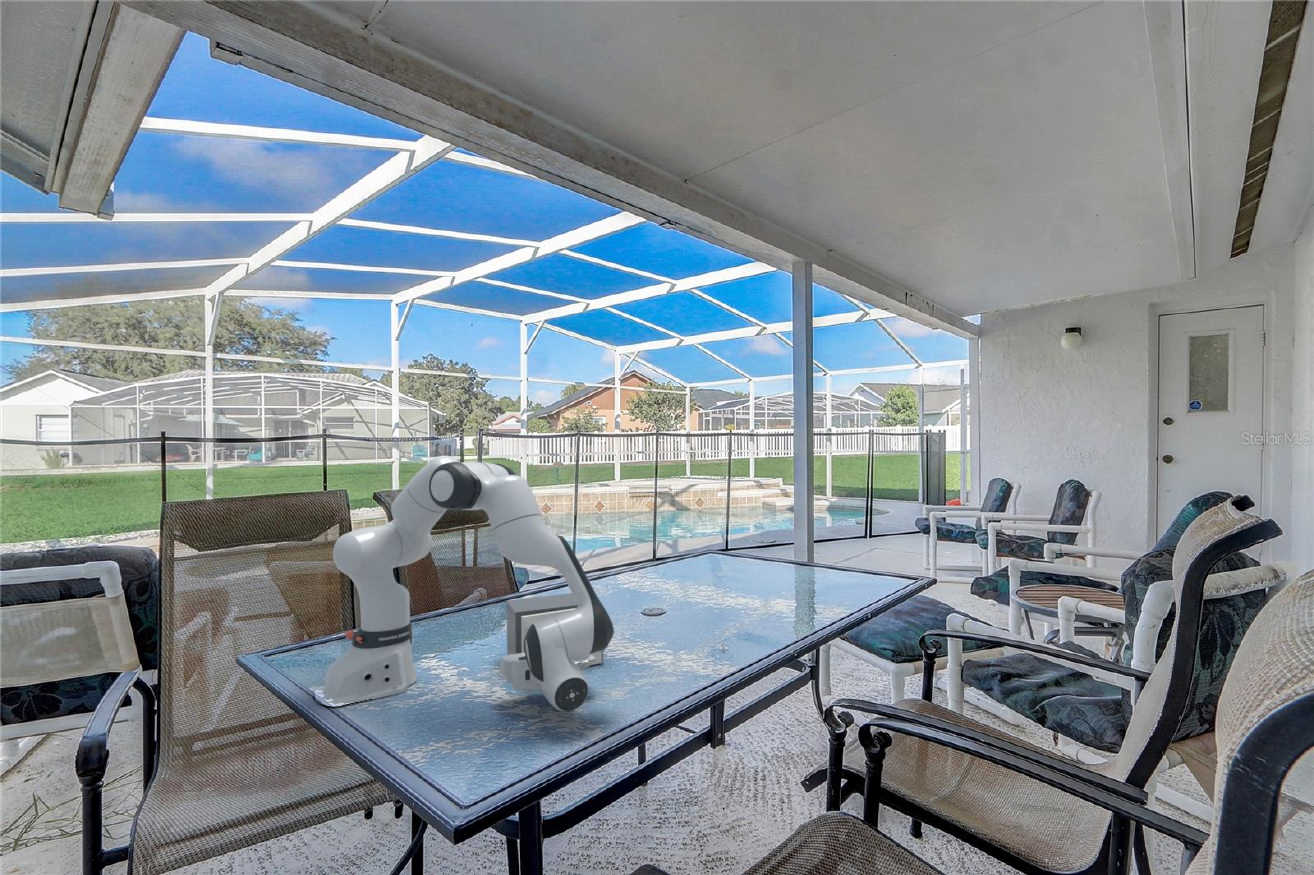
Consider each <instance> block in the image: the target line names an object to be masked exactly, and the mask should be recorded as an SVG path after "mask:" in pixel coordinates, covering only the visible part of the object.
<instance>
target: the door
mask: <svg viewBox="0 0 1314 875" xmlns="http://www.w3.org/2000/svg"><path fill="white" fill-rule="evenodd" d="M574 609H575V608H573V609H566V610H560V611H553V612H547V613H540V614H533V615H527V616H521V644H522V653H525V651H524V639H525V636H526V634H527V631H528V629H529V628H530V626H531V625H532V624H534V623H537V622H539V621H542V620H545V619H547V618H550V617H554V616H557V615H560V614H563V613H565V612H568V611H571V610H574ZM590 655H592V656H594V657H595V659H596V660H595V662H593V663H591V665H590V666H593V665H598V664H603V663H604V650H602V651H599V652H595V653H592V654H590Z"/></svg>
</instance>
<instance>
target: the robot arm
mask: <svg viewBox="0 0 1314 875" xmlns="http://www.w3.org/2000/svg"><path fill="white" fill-rule="evenodd" d="M390 506H391V507H390V510H391V516H392V520H390V521H389V522H387V523H386V524H381V525H375V526H368V527H361V528H357V529H354V530H351V531H349V532H346V533H344V534H342V535H341V536H340V537H339V538H337V539H336V541H335V544H334V547H333V549H332V550H333V551H332V559H333V562H334V564H335V567H336V568H337V569H338V571H340V572H341V573H343V574H345V575H346V576H348V578H350V580H352V581H351V582H353V585H354V586H355V588H356V590H357V593H358V598H359V608H360V627H359V629H358V630H356V632H355V631H354V630H351V629H349V630H347V631H346V633H345V634H344V636H345V638H346V639H348V641H349V640H350V641H351V642H352V646H350V647H349V648H348V649H347V650H345V652H344V653H343V654H342V655H340V656H339V657H338V658H337V659H336V660H335V661H334V662H332V663H331V664H330V665H329V667H327V670H326V674H325V680H324V684H323V685H322V686H323V687H322V686H321V687H322V688H319V687H318V688H319V689H317V688H316V689H317V690H323V692H322V693H318V694H324V697H322V698H320V699H326V700H329V699H333V701H331V702H326V703H333V704H338V703H351V702H358V701H362V700H367V701H369V700H368V699H372V700H376V699H381V698H384V697H385V698H386V697H389V696H392V695H397V694H398V695H399V694H401V693H404V692H406V691H407V689H408V687H410V686H411V685H413V684H414V683H415V682H416V681H417V680H418V675H417V673H416V672H417V671H416V669H415V665H414V660H413V653H412V642H413V627H412V623H413V622H411V620H410V618H411V616H410V615H411V613H410V610H411V609H410V607H411V606H410V605H411V604H410V602H411V601H410V598H411V596H410V595H411V594H410V591H409V590H408V588H406V587H405V586H404V585H402V584H400V583H398V582H397V581H396V579H395V576H394V570H393V569H395V568H399V567H403V566H404V567H405V566H407V565H411V564H413V563H415V562H417V561H420V560H421V559H423V558H425V557H427V556H428V554H429V552H431V550H432V545H433V538H432V534H431V531H432V529H433V527H434V526H435V525H436V524H437V522H438V521H439V520H440V519H441V518H442V517H443V515H444V514H445V513H446V512H447V511H448V510H451V511H479V510H483V511H484V512H485V513H486V515H487V517H488V520H489V523H490V528H491V531H492V536H493V539H494V542H495V544H496V546H497V549H498V551H499V553H500V554H501V555H502V556H503V557H504V558H506V559H507V560H508V561H510V562H512V563H516V564H519V565H527V566H544V567H547V568H553V569H555V570H557V571H558V572H560V574H561V575H562V577H563V578H564V580H565V582H566V584H567V585H568V588H569V590H570V592H571V593H572V594H573V596H574V598H575V599H576V601H577V603H578V607H577V608H575V609H574V610H571V611H568V612H565V613H563V614H560V615H557V616H554V617H550V618H547V619H545V620H542V621H539V622H537V623H534V624H532V625H531V626H530V628H529V629H528V631H527V634H526V636H525V639H524V651H525V653H518V654H511V655H507V654H506V655H503V656H502V657H501V658H500V673H501V675H502V677H504V679H505V680H506V681H507V682H508V683H510V684H512V688H513V690H514V691H537V692H542V694H543V696H544V697H545V699H546V700H547V702H548V703H550V705H551V706H552V707H553V708H555V709H556V710H558V711H561V712H565V713H566V712H572V711H574V710H577V709H578V708H580V707H581V706H582V705H583V704H584V703H585V701H586V700H587V698H588V696H589V692H590V686H589V682H588V680H587V678H586V675H585V673H584V672H583V671H582V669H583V670H584V669H587V668H589V667H590V666H592V665H591V663H593V662H595V660H596V659H595V657H594V656H592V655H590V654H592V653H595V652H599V651H602V650H603V651H605V650H606V649H607V648H608V646H609V644H610V643H611V641H612V639H613V637H614V634H615V629H614V624H613V621H612V618H611V616H610V615H609V613H608V612H607V609H606V608H605V607H604V605H603V604H602V602H601V600H600V598H599V597H598V595H597V593H596V591H595V590H594V587H593V586H592V584H591V582H590V580H589V578H588V576H587V574H586V572H585V571H584V569H583V566H582V564H580V563H581V562H580V561H579V559H578V558H577V555H576V554H575V552H574V550H573V549H572V547H571V545H570V543H568V541H567V540H566V539H565V537H563V536H562V535H558V534H555V533H554V532H553V531H552V530H551V529H550V528H549V527H548V526H547V524H546V522H545V520H544V518H543V515H542V512H541V508H540V507H539V504H538V502H537V500H536V497H535V495H534V493H533V491H532V489H531V487H530V484H528V481H527V480H526V479H525V478H524V477H522V476H520V475H517V474H516V472H515V470H513V469H511V468H510V467H508V466H507V465H504V464H500V463H491V462H486V461H485V462H484V461H462V462H460V460H458V459H456V458H455V457H453V456H449V455H439V456H437V457H433V458H432V459H431V460H430V461H429V462H428V463H426V464H425V465H424V466H423V467H422V468H421V469H420V470H419V471H417V472H416V474H415V475H413V477H412V478H411V479H410V480H409V482H408V483H407V484H406V485H405V486H404V488H403V489H402V490H401V491H400V493H399V494H398V495H397V496H396V498H395V499H394V500H393V501H392V503H391V505H390Z"/></svg>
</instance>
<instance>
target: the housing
mask: <svg viewBox="0 0 1314 875" xmlns="http://www.w3.org/2000/svg"><path fill="white" fill-rule="evenodd" d="M577 607H578V603H577V601H576V599H575V598H574V596H573V594H572V592H571V593H570V592H569V593H563V594H553V595H551V594H550V595H544V596H535V597H527V598H516V599H508V600H506V645H507V646H506V655H511V654H518V653H522V644H521V616H527V615H533V614H540V613H547V612H553V611H560V610H566V609H573V608H577Z"/></svg>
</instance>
